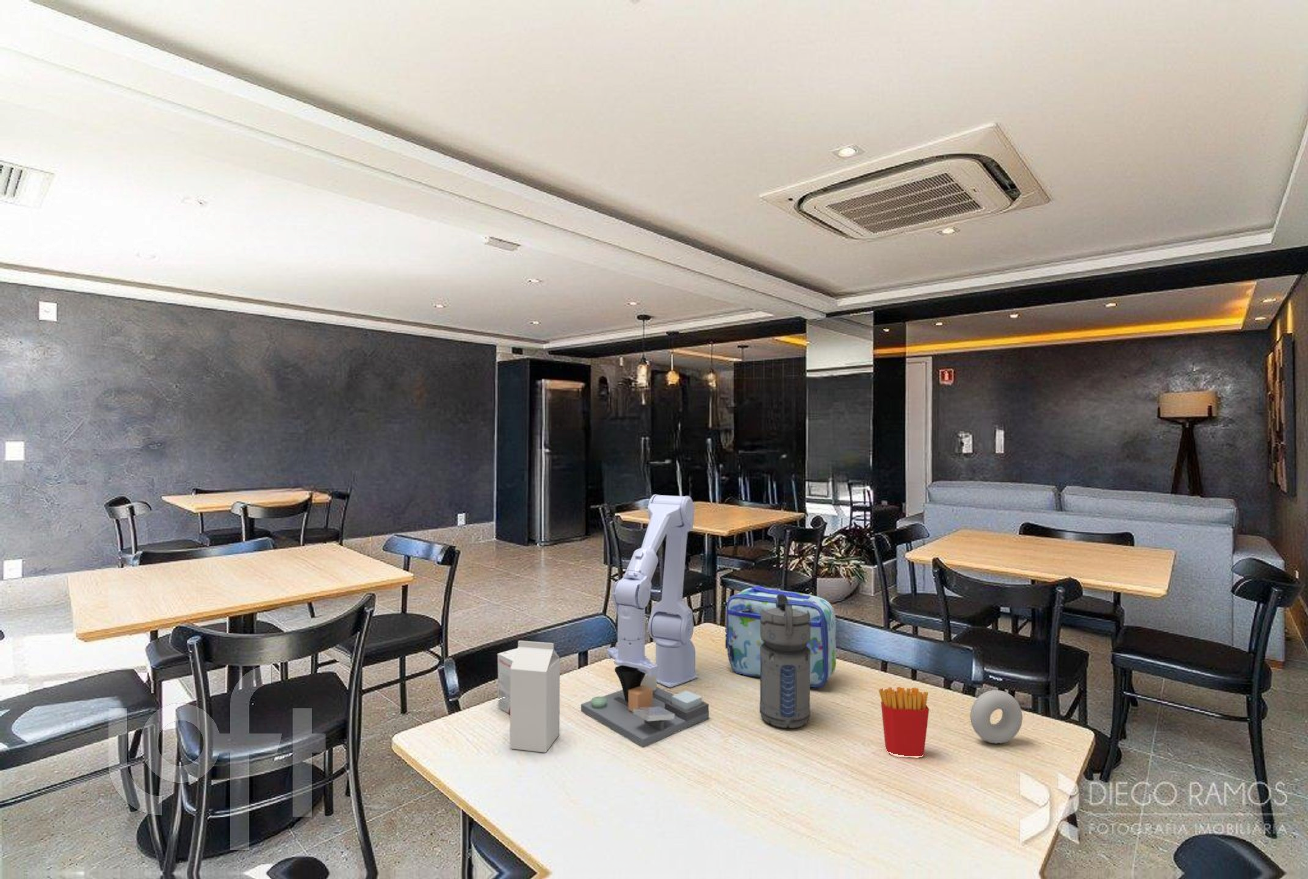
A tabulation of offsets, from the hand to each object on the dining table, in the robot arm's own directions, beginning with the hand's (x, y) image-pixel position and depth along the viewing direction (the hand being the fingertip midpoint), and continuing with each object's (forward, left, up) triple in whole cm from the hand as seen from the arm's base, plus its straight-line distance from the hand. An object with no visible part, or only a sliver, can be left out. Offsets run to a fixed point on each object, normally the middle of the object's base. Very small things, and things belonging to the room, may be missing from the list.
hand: (630, 700), depth 128 cm
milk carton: (+21, -2, -3) cm, 22 cm away
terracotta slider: (0, +3, -1) cm, 3 cm away
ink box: (+17, -17, -3) cm, 24 cm away
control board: (-2, +2, -2) cm, 4 cm away
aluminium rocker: (+2, +10, +2) cm, 11 cm away
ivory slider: (-7, -4, -1) cm, 8 cm away
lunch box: (-40, +8, -3) cm, 40 cm away
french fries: (-28, +45, -3) cm, 53 cm away
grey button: (-7, +9, 0) cm, 12 cm away
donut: (-45, +55, -3) cm, 71 cm away
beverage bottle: (-23, +22, -3) cm, 32 cm away
